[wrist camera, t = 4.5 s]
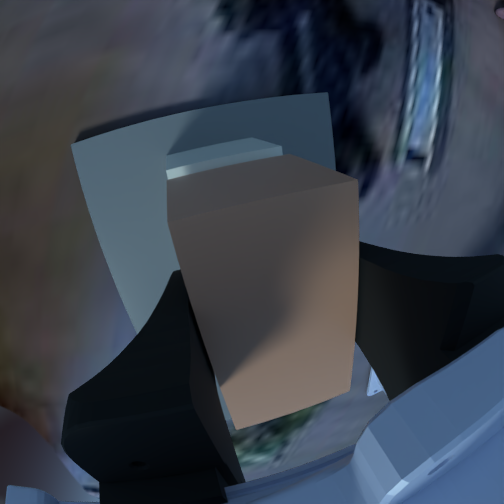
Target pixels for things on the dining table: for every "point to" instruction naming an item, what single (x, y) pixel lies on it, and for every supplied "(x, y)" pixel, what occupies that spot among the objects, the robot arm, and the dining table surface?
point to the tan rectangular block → (271, 279)
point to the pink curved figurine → (500, 12)
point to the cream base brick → (219, 156)
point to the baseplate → (155, 179)
